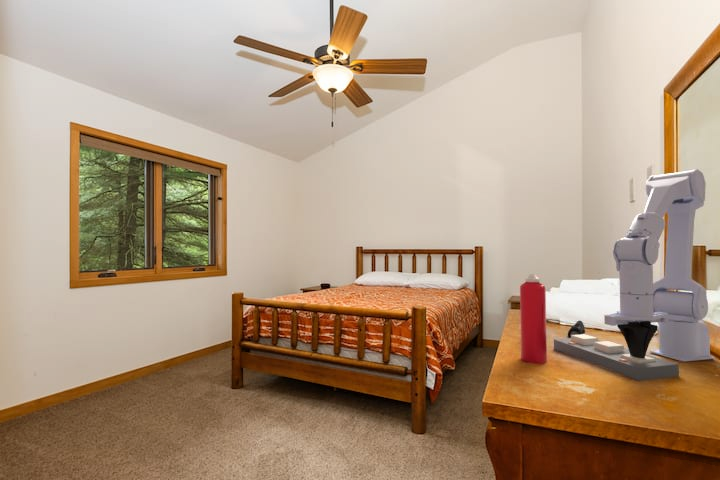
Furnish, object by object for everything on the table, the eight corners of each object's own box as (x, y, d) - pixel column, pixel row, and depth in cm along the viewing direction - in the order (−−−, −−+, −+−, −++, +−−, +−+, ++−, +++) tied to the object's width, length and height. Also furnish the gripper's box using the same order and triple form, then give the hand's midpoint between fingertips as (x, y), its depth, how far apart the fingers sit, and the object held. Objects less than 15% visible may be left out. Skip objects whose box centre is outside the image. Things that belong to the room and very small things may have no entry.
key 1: (584, 346, 94) (584, 334, 94) (597, 351, 90) (597, 337, 90) (571, 347, 93) (571, 335, 93) (584, 352, 89) (583, 339, 89)
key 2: (636, 367, 80) (636, 353, 80) (654, 374, 76) (654, 358, 76) (621, 369, 79) (621, 354, 80) (639, 375, 76) (638, 360, 76)
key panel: (586, 346, 97) (586, 336, 97) (679, 376, 75) (678, 363, 75) (553, 349, 95) (553, 338, 95) (639, 380, 72) (638, 367, 73)
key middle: (608, 354, 87) (608, 341, 87) (623, 359, 83) (623, 345, 83) (594, 355, 86) (594, 342, 86) (609, 360, 82) (609, 346, 82)
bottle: (549, 364, 83) (547, 275, 83) (522, 362, 84) (521, 275, 85) (544, 357, 88) (542, 274, 88) (519, 355, 90) (518, 273, 90)
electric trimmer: (587, 330, 117) (587, 320, 117) (582, 340, 104) (582, 329, 104) (573, 329, 119) (573, 319, 119) (567, 338, 106) (566, 327, 107)
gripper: (645, 290, 84) (646, 350, 83) (591, 292, 81) (593, 354, 80) (678, 294, 77) (679, 359, 77) (621, 296, 74) (622, 364, 73)
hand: (637, 357), depth 78 cm, fingers closed, pressing on key 2
